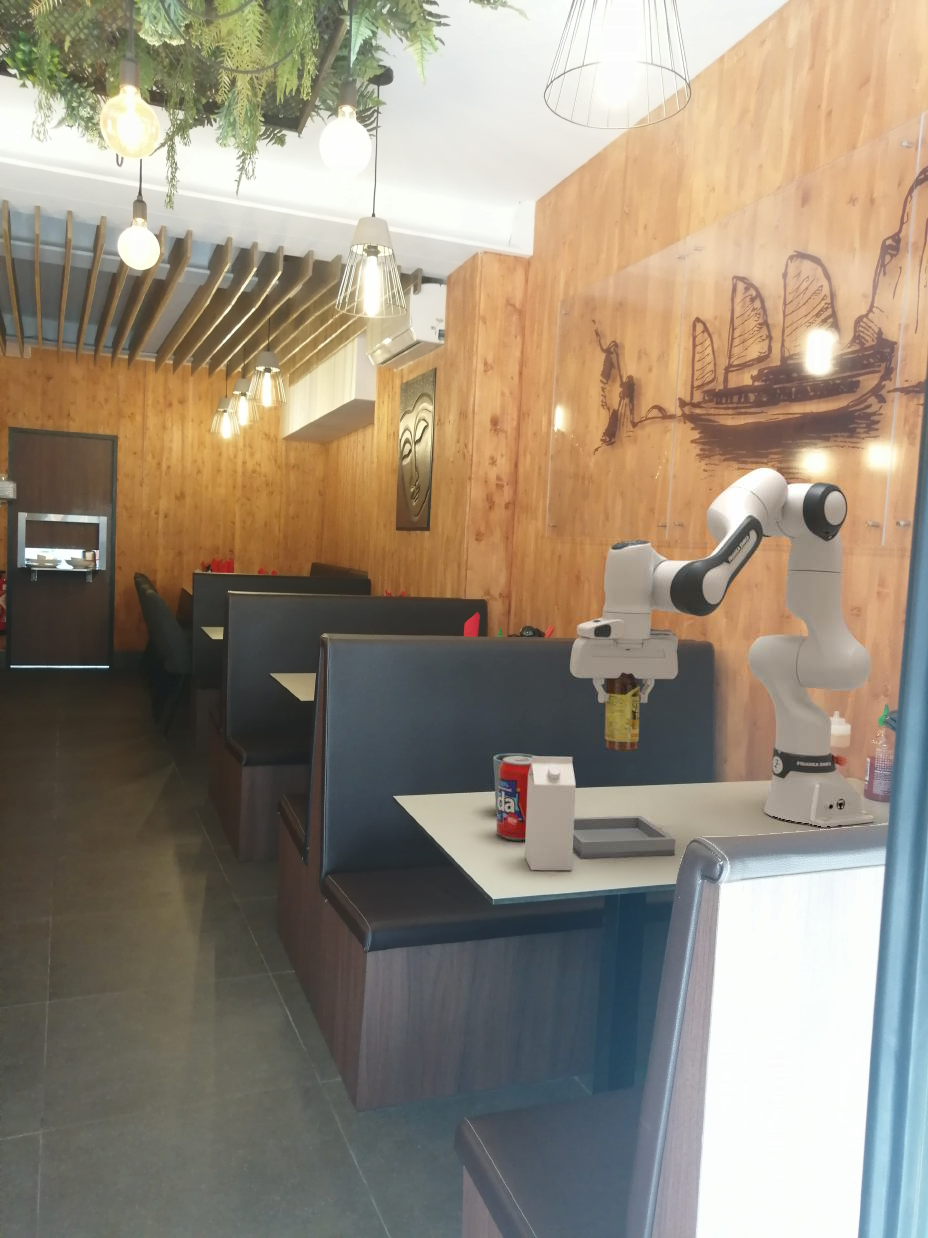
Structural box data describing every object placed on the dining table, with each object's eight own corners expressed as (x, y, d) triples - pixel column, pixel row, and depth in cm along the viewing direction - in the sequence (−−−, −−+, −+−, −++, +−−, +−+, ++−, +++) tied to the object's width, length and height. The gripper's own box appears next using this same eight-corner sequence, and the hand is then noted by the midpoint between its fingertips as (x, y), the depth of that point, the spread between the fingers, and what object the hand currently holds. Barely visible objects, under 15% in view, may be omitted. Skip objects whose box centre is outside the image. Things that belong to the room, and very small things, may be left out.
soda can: (544, 841, 168) (547, 763, 167) (506, 844, 165) (509, 765, 164) (526, 829, 175) (529, 754, 174) (490, 832, 172) (493, 755, 172)
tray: (640, 830, 177) (641, 816, 177) (674, 855, 162) (675, 839, 162) (554, 833, 173) (555, 818, 173) (581, 859, 158) (582, 842, 158)
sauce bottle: (638, 753, 161) (640, 644, 160) (603, 751, 162) (605, 643, 161) (638, 746, 168) (641, 641, 166) (605, 744, 169) (607, 640, 168)
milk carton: (524, 857, 158) (528, 752, 157) (563, 857, 159) (568, 752, 158) (530, 871, 151) (535, 761, 150) (571, 871, 152) (576, 761, 151)
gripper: (670, 628, 169) (667, 700, 170) (568, 625, 164) (565, 699, 165) (686, 630, 163) (682, 705, 164) (580, 628, 158) (576, 705, 159)
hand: (622, 702), depth 164 cm, fingers closed on sauce bottle, 6 cm apart
